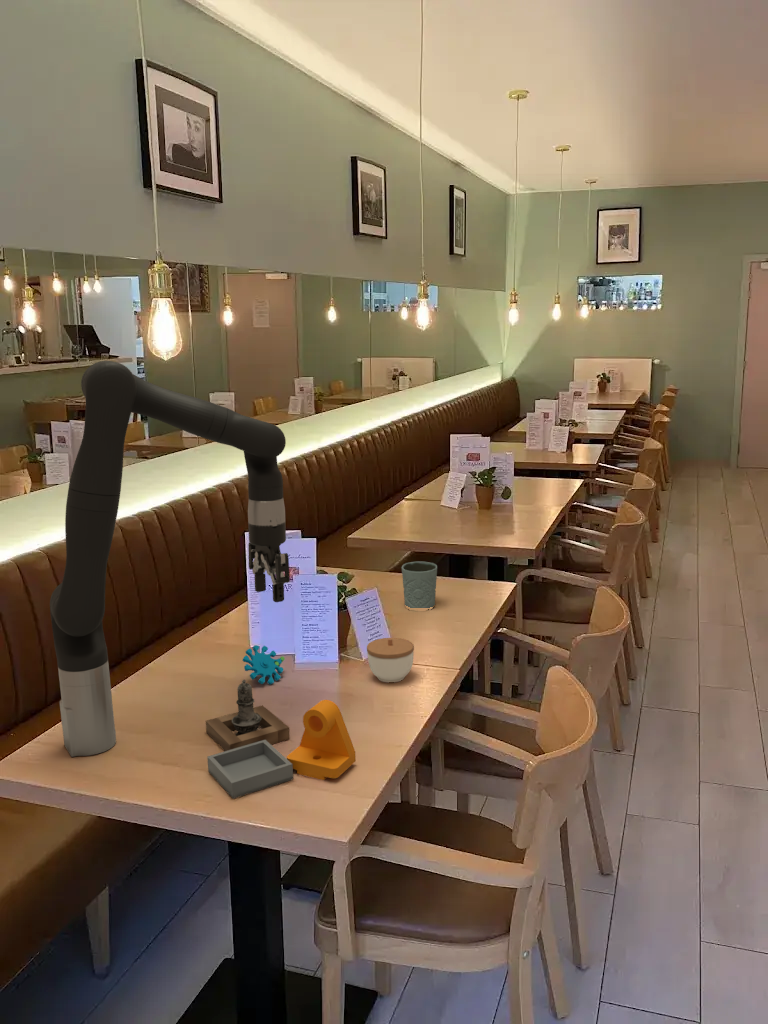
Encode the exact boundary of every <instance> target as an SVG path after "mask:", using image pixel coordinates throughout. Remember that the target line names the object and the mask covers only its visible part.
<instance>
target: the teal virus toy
mask: <svg viewBox="0 0 768 1024" xmlns="http://www.w3.org/2000/svg"><path fill="white" fill-rule="evenodd" d="M259 649H260V646H259V645H257V644H255V645H253V647H252V649H251V648H247V649H246V650H245V654H246V655H245V656H244V657H243V658H242V661H243V662H244V663H246V664H245V665H244V668H243V669H244V672H248V671H252V672H251V673H250V674H249V677H250V679H251V680H255V678H256V677H258V676H261V677H260V678H259V679H258V683H259V684H261V685H263V684H265V682H266V677H267V678H268V680H267V684H268V685H273V684H274V683H275V681H276V682H277V681H279V680H280V679H282V676H281V675H280V674H283V671H284V668H283V667H281V664H282V663H283V662H284V661H285V660H286V659H285V657H284V656H280V657H279V658H275V657H276V656H277V652H276V651H275V650H271V652H270V653H267V651H268V649H269V647H267V646H266V645H263V646H262V647H261V652H259V651H258V650H259ZM253 652H254V654H253ZM273 676H274V677H273Z"/></svg>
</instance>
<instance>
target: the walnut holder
mask: <svg viewBox="0 0 768 1024" xmlns="http://www.w3.org/2000/svg"><path fill="white" fill-rule="evenodd" d="M253 709H254V712H255V713H256V714H259V715H260V716H261V721H260V725H259V727H260V728H261V729H257V731H253V732H250V733H246V734H243V735H239V736H236V735H235V734H236V733H234V731H237V730H236V729H235V727H234V724H233V723H232V719H233V717H235V716H236V715H238V711H237V712H233V713H229V714H225V715H223V716H222V715H221V716H218V717H215V718H210V719H207V720H205V731H206V734H207V735H208V736H210V738H211V739H212V740H213V741H214V742H215V743H216V742H217V743H218V744H219V745H220V746H221V747H222V748H223V749H224V750H223V749H222V748H221V747H220V746H219V745H218V744H217V743H216V744H217V745H218V746H219V747H220V748H221V749H222V750H223V752H224V751H228V750H231V749H235V748H238V747H241V746H245V745H248V744H252V743H255V742H259V741H262V740H266V741H267V742H269V743H270V744H271V745H272V746H273V745H275V744H277V743H280V742H285V741H288V740H290V739H291V736H290V734H291V733H290V727H289V725H287V724H286V723H284V722H283V721H282V720H281V719H280V718H279V717H277V716H276V715H275V714H274V713H273V712H271V711H270V710H269V709H268V708H267V707H266V706H264V705H263V704H262V705H259V706H255V707H253ZM233 730H234V731H233Z"/></svg>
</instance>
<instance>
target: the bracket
mask: <svg viewBox="0 0 768 1024" xmlns="http://www.w3.org/2000/svg"><path fill="white" fill-rule="evenodd" d="M343 717H344V716H343V715H342V712H341V709H340V707H339V706H338V705H337V703H335V702H334V701H332V700H329V699H322V700H320V701H318V702H317V703H316V704H315V705H314V706H312V707H311V708H309V709H308V710H307V711H305V713H304V714H303V717H302V724H303V727H304V730H303V733H302V737H301V740H300V742H299V746H298V747H296V748H295V749H294V750H292V751H291V752H290V753H288V754H287V755H286V759H287V760H288V761H290V762H291V763H292V765H293V770H295V771H296V774H297V775H300V776H305V777H309V778H311V779H317V780H321V781H324V780H326V779H327V778H330V779H337V778H339V777H340V776H341V775H342V774H343V773H345V772H346V771H347V770H348V769H349V768H350V767H351V766H353V764H354V763H356V760H357V759H356V751H355V747H354V745H353V741H352V740H351V737H350V733H349V731H348V728H347V725H346V723H345V720H344V718H343Z"/></svg>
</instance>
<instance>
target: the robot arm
mask: <svg viewBox="0 0 768 1024" xmlns="http://www.w3.org/2000/svg"><path fill="white" fill-rule="evenodd" d="M80 387H81V390H82V392H81V393H82V394H83V396H84V398H85V409H84V410H85V411H84V424H83V425H84V426H83V427H84V428H83V434H82V439H81V442H80V446H79V449H78V451H77V454H76V458H75V460H74V464H73V467H72V469H71V475H70V478H69V479H70V480H69V483H68V489H67V497H66V504H65V518H64V519H65V523H64V526H65V532H64V533H65V547H66V549H65V551H66V556H65V557H66V559H65V565H64V566H65V567H64V572H63V578H62V581H61V583H60V584H58V585H57V586H56V587H55V589H54V590H53V591H52V593H51V596H50V600H49V611H50V620H51V629H52V636H53V643H54V644H53V645H54V651H55V655H56V656H55V657H56V662H57V669H58V679H59V681H58V682H59V688H60V697H61V699H60V700H59V709H60V711H59V712H60V718H61V728H62V735H63V737H62V738H63V744H64V745H63V746H64V747H65V749H66V750H67V752H68V754H69V755H70V757H71V758H73V757H79V756H81V757H85V756H93V755H98V754H102V753H104V752H107V751H108V750H110V749H112V748H113V747H114V746H115V745H116V743H117V733H116V732H117V731H116V727H115V726H116V724H115V716H114V706H113V705H114V704H113V696H112V687H111V677H110V676H111V675H110V666H109V665H110V664H109V656H108V655H109V654H108V646H107V643H106V639H105V633H104V632H105V631H104V628H103V619H104V617H105V612H106V585H107V584H106V582H107V566H108V561H109V556H110V552H111V548H112V544H113V538H114V533H115V528H116V524H117V523H116V521H117V517H118V513H119V511H118V510H119V506H120V505H119V504H120V498H121V491H122V482H123V481H122V480H123V479H122V478H123V468H124V452H125V439H126V435H127V430H128V427H129V423H130V422H129V421H130V418H131V415H132V414H137V415H141V416H144V417H148V418H151V419H154V420H157V421H160V422H162V423H165V424H167V425H170V426H172V427H175V428H177V429H178V430H181V431H183V432H186V433H189V434H191V435H195V436H197V437H199V438H203V439H206V440H209V441H212V442H214V443H217V444H222V445H226V446H230V447H233V448H236V449H237V450H240V451H243V456H244V461H245V467H246V471H247V490H248V491H247V492H248V505H247V518H248V519H247V520H248V522H247V524H248V544H247V545H248V569H249V570H251V571H252V573H253V575H254V591H255V592H257V593H261V592H265V591H266V590H267V587H266V586H267V583H266V574H267V576H269V577H270V579H271V582H272V601H273V602H274V603H279V602H280V603H281V602H283V601H285V585H284V584H286V583H290V581H291V577H290V565H289V564H290V563H289V559H290V558H289V553H288V552H285V553H281V548H280V547H281V545H282V544H284V543H285V542H286V540H287V536H286V535H287V531H286V530H287V529H286V528H287V527H286V507H285V506H286V505H285V501H284V500H285V499H284V481H283V480H284V479H283V475H282V472H281V470H280V469H279V467H278V465H279V464H278V456H279V455H281V454H282V453H283V452H284V450H285V448H286V444H287V443H286V441H287V439H286V436H285V433H284V432H283V430H281V428H280V427H278V425H276V424H274V423H269V422H267V421H263V420H261V419H260V420H259V419H258V418H254V417H250V416H246V415H243V414H240V413H238V412H237V411H234V410H232V409H230V408H229V407H225V406H223V405H220V404H217V403H214V402H211V401H208V400H205V399H201V398H199V397H195V396H192V395H188V394H184V393H180V392H177V391H173V390H170V389H167V388H164V387H162V386H159V385H157V384H153V383H152V382H149V381H147V380H145V379H143V378H142V377H139V376H137V375H136V374H133V372H132V371H131V370H130V369H129V368H128V367H127V366H125V365H124V364H123V363H120V362H117V361H113V360H101V361H98V362H95V363H92V364H90V365H89V366H88V368H86V370H85V371H84V372H83V375H82V377H81V383H80Z"/></svg>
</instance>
